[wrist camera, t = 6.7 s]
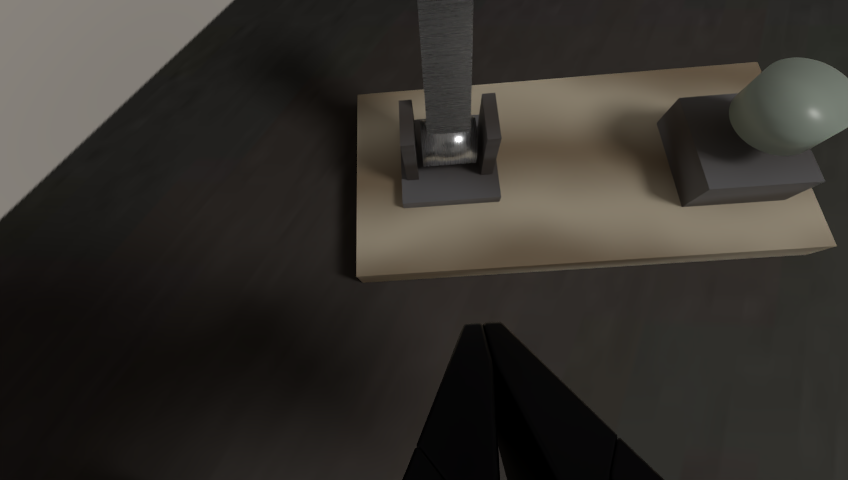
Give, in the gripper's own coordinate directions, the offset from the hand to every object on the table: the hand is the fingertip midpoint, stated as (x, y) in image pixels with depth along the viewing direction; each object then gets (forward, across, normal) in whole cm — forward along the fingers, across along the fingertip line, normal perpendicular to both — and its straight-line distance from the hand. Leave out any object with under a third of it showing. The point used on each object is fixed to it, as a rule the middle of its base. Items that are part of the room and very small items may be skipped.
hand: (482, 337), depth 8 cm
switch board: (+14, -7, +1) cm, 15 cm away
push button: (+10, -14, -2) cm, 17 cm away
